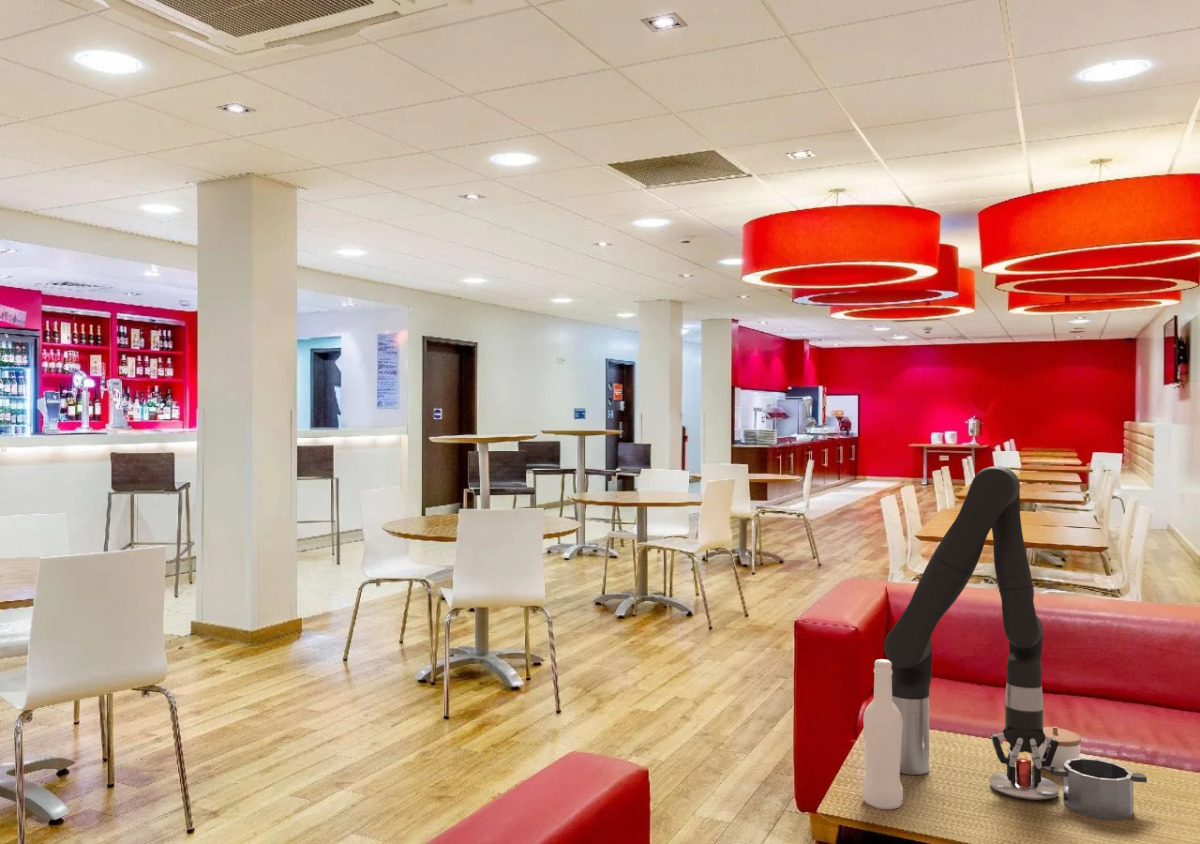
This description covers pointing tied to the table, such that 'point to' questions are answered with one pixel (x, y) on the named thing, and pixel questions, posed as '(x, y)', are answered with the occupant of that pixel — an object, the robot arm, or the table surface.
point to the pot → (1098, 788)
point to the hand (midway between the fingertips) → (1024, 783)
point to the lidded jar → (1061, 746)
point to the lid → (1024, 783)
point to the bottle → (882, 743)
